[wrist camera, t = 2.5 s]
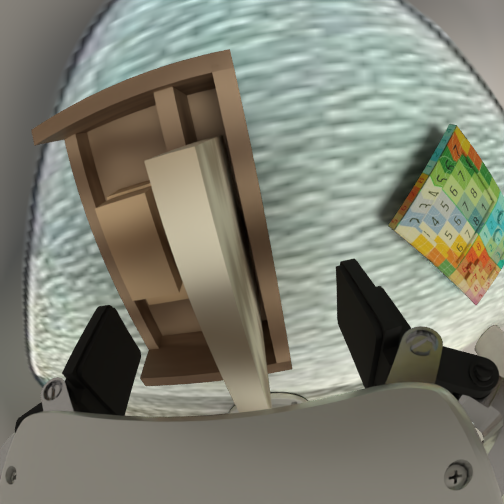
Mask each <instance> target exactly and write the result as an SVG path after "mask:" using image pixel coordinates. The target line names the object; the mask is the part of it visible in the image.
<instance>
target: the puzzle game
mask: <svg viewBox="0 0 504 504" xmlns="http://www.w3.org/2000/svg"><path fill="white" fill-rule="evenodd" d="M388 226H389V227H390V228H391V229H393V230H394V231H395V232H396V233H398V234H399V235H400V236H401V237H403V238H404V239H405V240H406V241H407V242H409V243H410V244H411V245H412V246H413V247H414V248H416V249H417V250H418V251H419V252H420V253H421V254H422V255H424V256H425V257H426V258H427V259H428V260H429V261H430V262H431V263H433V264H434V265H435V266H436V267H437V268H438V269H439V270H440V271H441V272H442V273H443V274H445V275H446V276H447V277H448V278H449V279H450V280H451V281H452V282H453V283H454V284H455V285H456V286H457V287H458V288H459V289H460V290H461V291H462V292H463V293H464V294H465V295H466V296H467V297H468V298H469V299H470V300H471V301H472V302H473V303H474V304H475V305H477V304H478V303H479V301H480V300H481V298H482V297H483V296H484V294H485V293H486V291H487V290H488V289H489V287H490V286H491V284H492V283H493V281H494V280H495V278H496V277H497V275H498V274H499V272H500V271H501V269H502V267H503V266H504V197H503V195H502V193H501V191H500V189H499V188H498V186H497V184H496V182H495V181H494V179H493V177H492V176H491V174H490V172H489V171H488V169H487V168H486V166H485V164H484V163H483V161H482V160H481V158H480V157H479V155H478V154H477V152H476V151H475V149H474V148H473V147H472V145H471V144H470V142H469V141H468V140H467V138H466V137H465V136H464V134H463V133H462V132H461V130H460V129H459V128H458V127H457V125H452V124H449V126H448V128H447V130H446V132H445V133H444V135H443V137H442V139H441V141H440V143H439V145H438V146H437V148H436V150H435V152H434V153H433V155H432V157H431V159H430V160H429V162H428V164H427V166H426V167H425V169H424V171H423V172H422V174H421V176H420V177H419V179H418V181H417V182H416V184H415V185H414V187H413V189H412V190H411V192H410V193H409V195H408V196H407V198H406V200H405V201H404V203H403V204H402V206H401V207H400V209H399V210H398V212H397V213H396V215H395V216H394V218H393V219H392V221H391V222H390V224H389V225H388Z"/></svg>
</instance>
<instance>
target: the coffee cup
mask: <svg viewBox="0 0 504 504" xmlns="http://www.w3.org/2000/svg"><path fill="white" fill-rule="evenodd" d="M475 351H476V353H477V354H478V356H482V357H485V358H488V359H490V360H491V361H493V362H494V363H495V365H496V366H497V368H498V371H499V375H500V376H501V377H504V332H503V331H502V330H501V329H500V328H499V327H498V326H497V325H493V326H491V327H490V328H489V329H487V330H486V331H485V332H484V333H483V335H482V336H481V337H480V339H479V340H478V342H477V344H476V346H475Z"/></svg>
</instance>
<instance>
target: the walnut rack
mask: <svg viewBox="0 0 504 504" xmlns="http://www.w3.org/2000/svg"><path fill="white" fill-rule="evenodd" d="M32 135H33V140H34V145H39V144H44V143H49V142H54V141H59V140H65V145H66V149H67V153H68V157H69V161H70V164H71V168H72V172H73V175H74V179H75V182H76V185H77V189H78V192H79V195H80V198H81V201H82V204H83V207H84V210H85V213H86V216H87V219H88V221H89V224H90V227H91V230H92V232H93V235H94V237H95V240H96V243H97V245H98V248H99V250H100V252H101V255H102V257H103V260H104V262H105V264H106V267H107V269H108V271H109V273H110V276H111V278H112V280H113V282H114V284H115V286H116V289H117V291H118V293H119V295H120V297H121V299H122V301H123V303H124V305H125V307H126V309H127V311H128V313H129V315H130V317H131V318H132V320H133V322H134V324H135V326H136V328H137V330H138V331H139V333H140V335H141V337H142V339H143V340H144V342H145V344H146V346H147V347H148V349H149V351H148V354H147V357H146V361H145V364H144V367H143V370H142V374H141V377H140V379H141V380H142V382H143V383H144V385H145V386H160V385H178V384H191V383H202V382H212V381H221V380H223V378H222V376H221V373H220V371H219V369H218V367H217V365H216V362H215V360H214V358H213V356H212V353H211V351H210V349H209V346H208V344H207V342H206V339H205V337H204V335H203V332H202V330H201V327H200V325H199V322H198V320H197V317H196V315H195V312H194V310H193V307H192V305H191V302H190V300H189V299H183V300H177V301H171V302H165V303H159V304H153V305H149V304H148V302H147V300H146V299H142V300H135V301H132V299H131V297H130V294H129V292H128V290H127V288H126V286H125V284H124V281H123V279H122V277H121V275H120V272H119V270H118V268H117V266H116V263H115V261H114V258H113V256H112V254H111V251H110V249H109V246H108V244H107V241H106V238H105V236H104V233H103V230H102V228H101V225H100V222H99V220H98V217H97V214H96V211H95V208H97V207H98V206H100V205H101V204H103V203H104V202H106V201H107V197H108V196H109V195H111V194H113V193H114V192H116V191H117V190H119V189H122V188H125V187H128V186H132V185H135V184H138V183H141V182H144V181H148V180H149V176H148V173H147V169H146V166H145V162H144V161H145V160H148V159H150V158H153V157H155V156H158V155H161V154H163V153H166V152H169V151H171V150H174V149H177V148H180V147H183V146H185V145H188V144H191V143H194V142H197V141H200V140H203V139H207V138H211V137H216V136H220V135H223V139H224V143H225V148H226V152H227V156H228V161H229V165H230V170H231V174H232V179H233V183H234V188H235V192H236V196H237V201H238V205H239V210H240V214H241V219H242V223H243V227H244V232H245V236H246V241H247V245H248V249H249V254H250V258H251V263H252V267H253V271H254V276H255V280H256V285H257V289H258V297H259V305H260V313H261V322H262V330H263V338H264V346H265V355H266V363H267V371H268V374H269V373H274V372H280V371H285V370H290V369H292V364H291V358H290V352H289V346H288V340H287V334H286V329H285V323H284V317H283V311H282V305H281V300H280V294H279V289H278V283H277V278H276V272H275V267H274V261H273V256H272V250H271V245H270V240H269V234H268V229H267V224H266V219H265V214H264V208H263V203H262V198H261V193H260V188H259V183H258V178H257V173H256V168H255V163H254V159H253V154H252V149H251V144H250V139H249V135H248V130H247V125H246V120H245V116H244V111H243V106H242V102H241V97H240V93H239V88H238V84H237V79H236V75H235V70H234V66H233V62H232V57H231V53H230V49H229V50H224V51H219V52H215V53H210V54H206V55H202V56H198V57H194V58H190V59H186V60H183V61H179V62H176V63H173V64H169V65H166V66H163V67H160V68H157V69H154V70H151V71H148V72H146V73H143V74H140V75H138V76H135V77H132V78H130V79H127V80H125V81H122V82H120V83H118V84H115V85H113V86H111V87H108V88H106V89H104V90H102V91H100V92H98V93H96V94H93V95H91V96H89V97H87V98H85V99H83V100H81V101H80V102H78V103H76V104H74V105H72V106H70V107H68V108H67V109H65V110H63V111H61V112H60V113H58V114H56V115H54V116H53V117H51V118H49V119H48V120H46V121H45V122H43V123H41V124H40V125H38V126H37V127H35V128H34V129H32Z"/></svg>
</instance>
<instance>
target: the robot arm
mask: <svg viewBox="0 0 504 504" xmlns="http://www.w3.org/2000/svg"><path fill="white" fill-rule="evenodd" d="M336 281H337V320H338V324H339V327H340V330H341V332H342V334H343V336H344V339H345V341H346V344H347V346H348V348H349V351H350V353H351V355H352V358H353V360H354V363H355V365H356V368H357V370H358V372H359V375H360V377H361V380H362V382H363V385H364V387H365V389H361V390H357V391H352V392H348V393H344V394H340V395H336V396H332V397H327V398H323V399H318V400H313V401H309V402H308V401H307V400H306V399H304V398H302V397H300V396H297V395H293V394H286V393H270V396H271V405H272V408H270V409H263V410H256V411H248V412H240V413H239V411H238V409H237V407H236V405H235V406H234V407H233V408H232V409H231V411H230V413H229V414H219V415H205V416H184V417H140V416H124V415H125V412H126V408H127V404H128V401H129V397H130V393H131V390H132V386H133V383H134V379H135V376H136V372H137V369H138V366H139V362H140V359H141V352H140V350H139V348H138V346H137V345H136V343H135V342H134V340H133V338H132V337H131V335H130V333H129V332H128V330H127V328H126V327H125V325H124V323H123V321H122V320H121V318H120V316H119V314H118V312H117V311H116V309H115V308H113V307H112V306H111V305H105V306H99V307H98V308H97V309H96V311H95V312H94V314H93V316H92V318H91V319H90V321H89V323H88V325H87V326H86V328H85V330H84V332H83V334H82V335H81V337H80V339H79V341H78V343H77V345H76V346H75V348H74V350H73V352H72V354H71V356H70V358H69V360H68V362H67V364H66V366H65V368H64V370H63V372H62V374H63V375H64V376H65V377H66V380H65V381H64V380H63V379H62V378H58V377H57V378H53V379H51V380H50V381H48V382H47V383H46V384H45V386H44V387H43V389H42V392H41V400H42V402H41V403H40V404H38V405H37V406H35V407H34V408H32V409H31V410H30V411H28V412H27V413H25V414H24V415H22V416H21V417H20V418H18V420H17V422H16V427H15V434H14V433H13V434H12V435H11V436H10V437H9V439H8V440H7V441H6V442H5V443H4V444H3V445H2V447H1V448H0V504H503V501H502V496H503V494H504V377H501V376H500V375H499V371H498V368H497V366H496V365H495V363H494V362H493V361H491V360H490V359H488V358H485V357H482V356H478V355H474V354H470V353H466V352H462V351H459V350H455V349H451V348H447V347H444V346H443V341H442V339H441V336H440V335H439V334H438V333H437V332H436V331H434V330H433V329H431V328H428V327H414V328H412V329H411V327H410V326H409V324H408V323H407V321H406V320H405V319H404V317H403V316H402V314H401V313H400V311H399V310H398V308H397V307H396V306H395V304H394V303H393V301H392V300H391V299H390V297H389V296H388V295H387V293H386V292H385V290H384V289H383V288H382V287H381V286H378V287H375V285H374V284H373V282H372V281H371V280H370V278H369V277H368V276H367V274H366V273H365V271H364V270H363V269H362V267H361V266H360V265H359V263H358V262H357V261H356V260H355V259H350V260H346V261H341V262H340V266H337V267H336ZM472 422H473V423H474V424H473V423H472ZM475 427H476V428H477V429H478V430H479V431H480V432H481V433H482V435H483V438H484V442H483V443H482V441H481V439H480V437H479V435H478V433H477V431H476V429H475Z"/></svg>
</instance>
